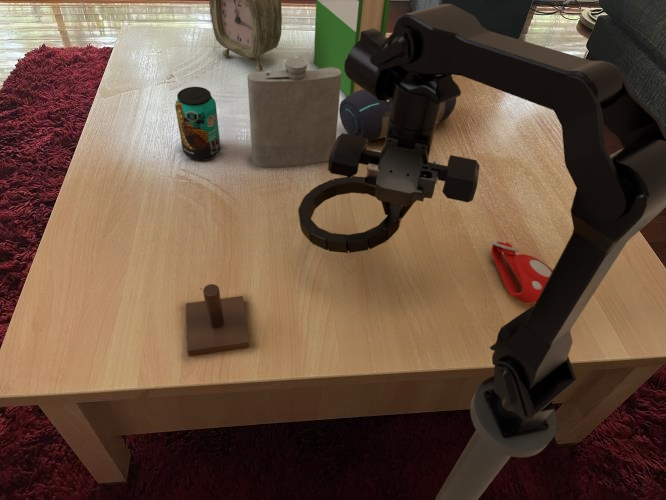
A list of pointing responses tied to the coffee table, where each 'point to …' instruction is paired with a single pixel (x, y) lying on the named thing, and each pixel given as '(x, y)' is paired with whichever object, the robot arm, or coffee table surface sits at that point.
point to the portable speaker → (375, 114)
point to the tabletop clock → (247, 26)
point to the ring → (344, 241)
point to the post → (216, 323)
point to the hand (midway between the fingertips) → (394, 214)
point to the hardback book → (345, 32)
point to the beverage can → (198, 123)
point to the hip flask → (293, 114)
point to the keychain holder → (520, 272)
